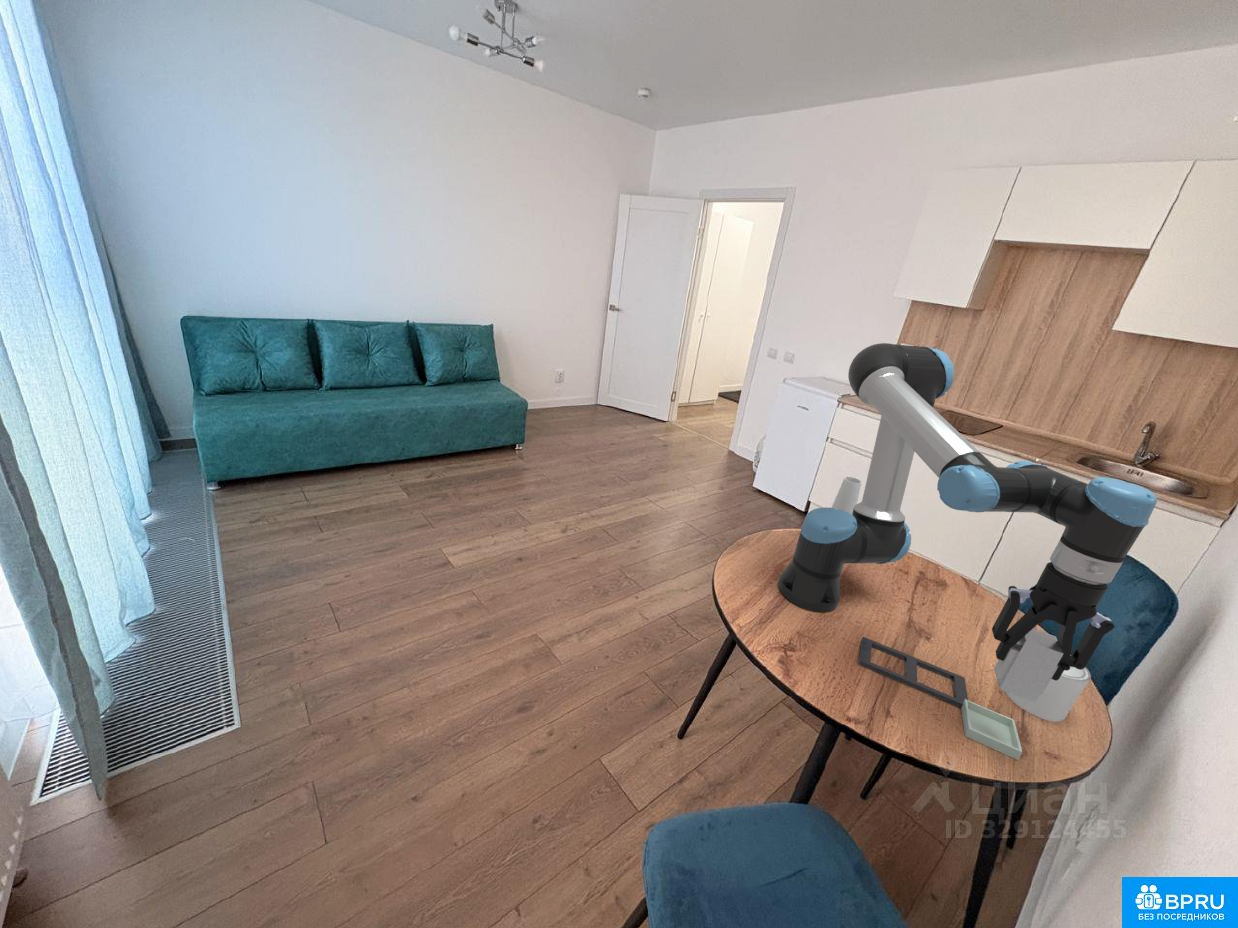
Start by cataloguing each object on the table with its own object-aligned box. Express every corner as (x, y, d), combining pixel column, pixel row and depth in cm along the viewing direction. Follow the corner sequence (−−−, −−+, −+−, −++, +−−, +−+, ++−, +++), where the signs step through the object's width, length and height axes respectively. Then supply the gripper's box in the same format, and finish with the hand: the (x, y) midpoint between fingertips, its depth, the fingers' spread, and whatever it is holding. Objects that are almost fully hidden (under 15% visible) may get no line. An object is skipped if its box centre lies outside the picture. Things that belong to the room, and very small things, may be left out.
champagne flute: (836, 545, 150) (859, 476, 141) (845, 556, 144) (869, 485, 135) (815, 542, 150) (837, 474, 141) (824, 554, 143) (846, 483, 135)
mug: (996, 663, 107) (1016, 626, 103) (1052, 683, 103) (1075, 646, 99) (1009, 705, 95) (1032, 666, 91) (1072, 730, 91) (1099, 690, 87)
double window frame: (858, 663, 102) (859, 660, 101) (861, 639, 109) (862, 636, 109) (967, 710, 93) (969, 706, 93) (962, 680, 100) (964, 677, 100)
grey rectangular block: (999, 688, 83) (1026, 640, 79) (995, 671, 88) (1020, 624, 83) (1034, 702, 81) (1063, 653, 77) (1028, 683, 85) (1055, 636, 81)
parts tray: (964, 736, 87) (969, 728, 87) (961, 706, 94) (964, 698, 93) (1017, 759, 84) (1022, 752, 83) (1009, 727, 90) (1014, 719, 90)
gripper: (1013, 562, 76) (959, 670, 85) (1165, 607, 68) (1089, 722, 77) (1005, 543, 82) (956, 646, 91) (1144, 582, 74) (1075, 691, 83)
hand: (1017, 680), depth 84 cm, fingers closed on grey rectangular block, 5 cm apart
